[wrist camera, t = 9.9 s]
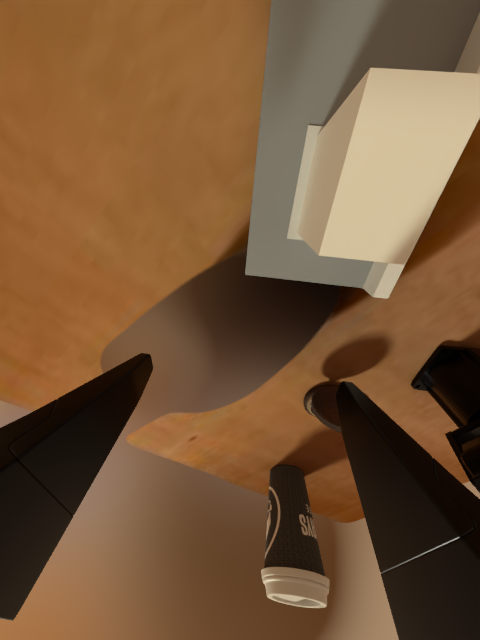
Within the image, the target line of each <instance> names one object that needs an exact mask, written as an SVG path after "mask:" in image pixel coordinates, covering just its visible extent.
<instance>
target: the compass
mask: <svg viewBox="0 0 480 640" xmlns="http://www.w3.org/2000/svg"><path fill="white" fill-rule="evenodd" d="M338 388H339V387H337V386H321V387H317V388H315V389H313V390H311V391H310V392H308V393H307V394H306V396H305V397H304V407H305V410H306V411H307V412H308V413H309V414H311V415H313V416H315V417H317V418H318V419H319V420H320V421H321V422H322V423H323V424H324V425H326V426H327V427H329V428H330V429H333V430H335V431H338V432H341V427H340V421H339V415H338V409H337V403H336V392H337V390H338ZM341 433H342V432H341Z"/></svg>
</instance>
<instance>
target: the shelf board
mask: <svg viewBox="0 0 480 640" xmlns="http://www.w3.org/2000/svg"><path fill="white" fill-rule="evenodd" d="M370 68H387V69H405V70H422V71H440V72H457V73H475V74H480V0H272V1H271V11H270V22H269V32H268V42H267V53H266V63H265V74H264V84H263V94H262V105H261V115H260V125H259V136H258V146H257V156H256V167H255V177H254V187H253V198H252V208H251V218H250V229H249V239H248V250H247V261H246V271H245V274H246V275H253V276H262V277H271V278H280V279H288V280H297V281H306V282H314V283H323V284H332V285H341V286H349V287H358V288H363V289H364V290H366V291H367V292H368V293H369V294H370V295H371V296H372V297H377V298H386V299H388V298H389V296H390V294H391V292H392V290H393V288H394V286H395V284H396V282H397V280H398V278H399V276H400V274H401V272H402V270H403V268H404V266H405V265H402V264H393V263H383V262H374V261H365V260H355V259H346V258H337V257H327V256H319V255H318V254H317V253H316V252H315V251H314V250H313V249H312V248H311V247H310V246H309V245H308V244H307V243H306V242H305V241H304V240H303V239H302V238H301V237H300V236H299V235H298V234H297V229H298V224H299V219H300V215H301V210H302V205H303V200H304V196H305V191H306V186H307V181H308V177H309V172H310V167H311V162H312V158H313V153H314V148H315V143H316V139H317V136H318V134H319V133H320V132H321V130H322V129H323V128H324V127H325V125H326V124H327V123H328V122H329V120H330V119H331V118H332V116H333V115H334V114H335V113H336V111H337V110H338V109H339V107H340V106H341V105H342V104H343V102H344V101H345V100H346V98H347V97H348V96H349V95H350V93H351V92H352V91H353V90H354V88H355V87H356V86H357V84H358V83H359V82H360V81H361V79H362V78H363V77H364V75H365V74H366V73H367V72H368V70H369V69H370ZM479 118H480V117H479ZM478 120H479V119H478ZM477 122H478V121H477ZM476 124H477V123H476ZM475 126H476V125H475ZM474 128H475V127H474ZM473 130H474V129H473ZM472 132H473V131H472ZM471 134H472V133H471ZM470 136H471V135H470ZM469 138H470V137H469ZM468 140H469V139H468ZM467 142H468V141H467ZM466 144H467V143H466ZM465 146H466V145H465ZM464 148H465V147H464ZM463 150H464V149H463ZM462 152H463V151H462ZM461 154H462V153H461ZM460 156H461V155H460ZM459 158H460V157H459ZM458 160H459V159H458ZM457 162H458V161H457ZM441 193H442V192H441ZM440 195H441V194H440ZM439 197H440V196H439ZM438 199H439V198H438ZM437 201H438V200H437ZM436 203H437V202H436ZM435 205H436V204H435ZM434 207H435V206H434ZM433 209H434V208H433ZM432 211H433V210H432ZM431 213H432V212H431ZM430 215H431V214H430ZM429 217H430V216H429ZM428 219H429V218H428ZM427 221H428V220H427ZM426 223H427V222H426ZM425 225H426V224H425ZM424 227H425V226H424ZM423 229H424V228H423ZM422 231H423V230H422Z"/></svg>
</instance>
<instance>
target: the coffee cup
mask: <svg viewBox="0 0 480 640" xmlns="http://www.w3.org/2000/svg"><path fill="white" fill-rule="evenodd" d="M261 574H262V579H263V583H264V585H265V586H266V593H267V597H268V598H270V599H272V600H274V601H277V602H281V603H285V604H289V605H294V606H300V607H308V608H324V607H326V606H327V594H328V593H329V579H328V578H326V577H325V573H324V569H323V565H322V560H321V555H320V550H319V546H318V541H317V536H316V532H315V527H314V523H313V518H312V513H311V508H310V503H309V498H308V494H307V489H306V484H305V479H304V475H303V472H302V471H301V470H300V469H299V468H297V467H294V466H289V465H279V466H276V467H273V468H272V469H271V470H270V483H269V501H268V518H267V535H266V551H265V567H264V569H262V570H261Z"/></svg>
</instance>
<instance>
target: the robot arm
mask: <svg viewBox="0 0 480 640" xmlns="http://www.w3.org/2000/svg"><path fill="white" fill-rule="evenodd" d="M152 370H153V364H152V359H151V356H150V354H145V353H141V354H139V355H137V356H135V357H133V358H131V359H129V360H128V361H126V362H124V363H122V364H120V365H118V366H117V367H115V368H113V369H111V370H109V371H107V372H106V373H104V374H102V375H100V376H98V377H96V378H95V379H93V380H91V381H89V382H87V383H85V384H84V385H82V386H80V387H78V388H76V389H74V390H72V391H71V392H69V393H67V394H65V395H63V396H61V397H60V398H58V400H57V399H56V400H54V401H52V402H50V403H49V404H47V405H45V406H43V407H41V408H39V409H37V410H35V411H33V412H32V413H30V414H28V415H26V416H24V417H22V418H20V419H18V420H16V421H14V422H12V423H10V424H8V425H6V426H4V427H1V428H0V619H6V620H14V618H15V617H16V615H17V614H18V612H19V610H20V609H21V607H22V605H23V604H24V602H25V600H26V598H27V597H28V595H29V593H30V591H31V590H32V588H33V586H34V584H35V583H36V581H37V579H38V577H39V576H40V574H41V572H42V570H43V568H44V567H45V565H46V563H47V562H48V560H49V558H50V556H51V555H52V553H53V551H54V549H55V548H56V546H57V544H58V542H59V541H60V539H61V537H62V535H63V534H64V532H65V530H66V528H67V527H68V525H69V523H70V521H71V520H72V518H73V515H74V514H75V512H76V511H77V509H78V507H79V505H80V504H81V502H82V500H83V498H84V497H85V495H86V493H87V491H88V490H89V488H90V486H91V484H92V483H93V481H94V479H95V477H96V475H97V474H98V472H99V470H100V469H101V467H102V465H103V463H104V461H105V460H106V458H107V456H108V455H109V453H110V451H111V449H112V447H113V446H114V444H115V442H116V441H117V439H118V437H119V435H120V433H121V432H122V430H123V428H124V427H125V425H126V423H127V421H128V420H129V418H130V416H131V414H132V413H133V411H134V409H135V407H136V405H137V404H138V402H139V400H140V398H141V396H142V394H143V391H144V389H145V387H146V384H147V382H148V380H149V377H150V375H151V373H152ZM411 386H412V387H413V388H414V389H417V390H424V391H428V392H429V393H430V395H431V396H432V397H433V398H434V399H435V400H436V402H437V403H438V404H439V405H440V406H441V407H442V409H443V410H444V411H445V412H446V413H447V414H448V416H449V417H450V418H451V419H452V420H453V422H454V423H455V424H456V425H457V426H458V427H459V428H458V429H456V430H454V431H452V432H451V431H450V432H448V433H446V434H445V435H446V437H447V439H448V441H449V443H450V445H451V447H452V449H453V451H454V452H455V454H456V456H457V458H458V460H459V462H460V463H461V465H462V467H463V469H464V471H465V473H466V474H467V476H468V478H469V480H470V482H471V483H472V484H473V485H474V486H475V487H476V489H477V490H478V491H479V492H480V349H474V348H459V347H451V346H441V347H439V348H438V349H437V350H436V351H435V353H434V354H433V355H432V357H431V358H430V359H429V361H428V362H427V363H426V365H425V366H424V367H423V369H422V370H421V371H420V373H419V374H418V375H417V377H416V378H415V379H414V381H413V382H412V383H411ZM336 403H337V409H338V415H339V421H340V427H341V432H342V436H343V440H344V443H345V447H346V451H347V454H348V458H349V461H350V465H351V468H352V472H353V476H354V479H355V483H356V486H357V490H358V494H359V497H360V501H361V504H362V508H363V511H364V515H365V519H366V522H367V526H368V529H369V533H370V537H371V540H372V544H373V547H374V551H375V554H376V558H377V561H378V565H379V569H380V572H381V573H382V574H381V576H382V580H383V583H384V587H385V591H386V594H387V598H388V602H389V605H390V609H391V612H392V616H393V619H394V623H395V627H396V630H397V634H398V637H399V640H480V499H479V498H478V497H477V496H475V495H474V494H473V493H472V492H471V491H470V490H468V489H467V488H466V487H465V486H464V485H463V484H462V483H460V482H459V481H458V480H457V479H456V478H455V477H454V476H453V475H452V474H451V473H449V472H448V471H447V470H446V469H445V468H444V467H443V466H442V465H441V464H440V463H439V462H437V461H436V460H435V459H434V458H432V456H431V455H430V454H429V453H428V452H427V451H425V450H424V449H423V448H422V447H421V446H420V445H419V444H418V443H417V442H416V441H415V440H414V439H413V438H411V437H410V436H409V435H408V434H407V433H406V432H405V431H404V430H403V429H402V428H401V427H400V426H399V425H397V424H396V423H395V422H394V421H393V420H392V419H391V418H390V417H389V416H388V415H387V414H386V413H385V412H383V411H382V410H381V409H380V408H379V407H378V406H377V405H376V404H375V403H374V402H373V401H372V400H371V399H369V398H368V397H367V396H366V395H365V394H364V393H363V392H362V391H361V390H360V389H359V388H358V387H357V386H355V385H354V384H353V383H351V382H345V381H343V382H341V384H340V386H339V388H338V390H337V392H336Z"/></svg>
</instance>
